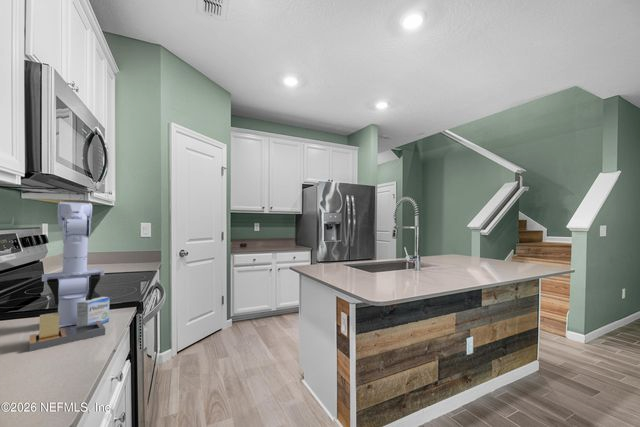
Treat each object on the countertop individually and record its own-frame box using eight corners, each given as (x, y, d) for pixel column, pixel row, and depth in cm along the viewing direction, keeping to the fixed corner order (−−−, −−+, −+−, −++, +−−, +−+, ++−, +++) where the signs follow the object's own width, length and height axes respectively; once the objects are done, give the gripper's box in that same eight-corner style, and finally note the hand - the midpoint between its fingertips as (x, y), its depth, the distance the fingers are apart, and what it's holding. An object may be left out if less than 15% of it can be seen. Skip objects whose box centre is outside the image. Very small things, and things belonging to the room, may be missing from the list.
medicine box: (86, 329, 92) (87, 302, 93) (75, 328, 93) (76, 302, 93) (109, 321, 100) (110, 296, 100) (99, 320, 101) (99, 296, 101)
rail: (29, 342, 81) (29, 335, 81) (100, 328, 93) (100, 321, 93) (29, 351, 76) (29, 343, 76) (105, 334, 88) (105, 327, 88)
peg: (38, 343, 81) (39, 315, 82) (57, 339, 84) (58, 312, 84) (38, 347, 78) (40, 318, 79) (58, 343, 81) (59, 314, 82)
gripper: (43, 260, 80) (41, 309, 79) (106, 256, 90) (105, 299, 89) (42, 258, 85) (40, 304, 84) (102, 255, 95) (101, 295, 94)
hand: (73, 301), depth 87 cm, fingers open, 7 cm apart
